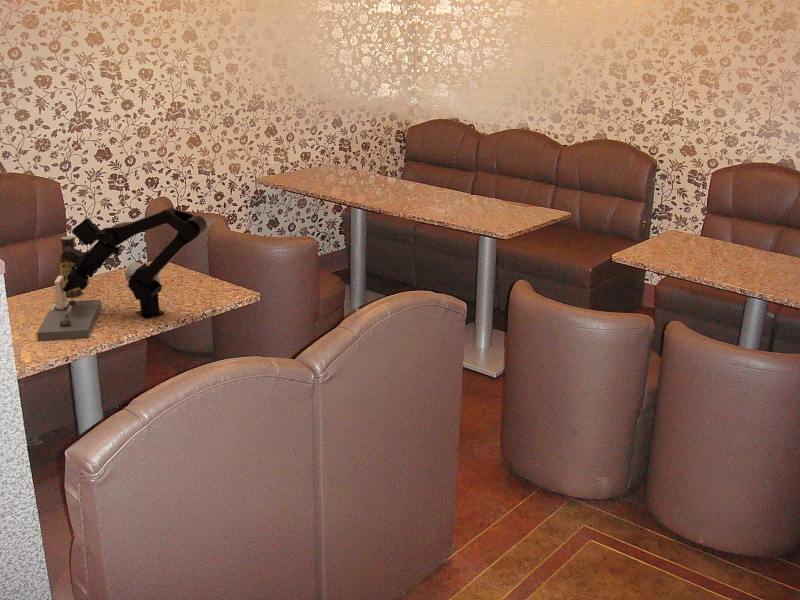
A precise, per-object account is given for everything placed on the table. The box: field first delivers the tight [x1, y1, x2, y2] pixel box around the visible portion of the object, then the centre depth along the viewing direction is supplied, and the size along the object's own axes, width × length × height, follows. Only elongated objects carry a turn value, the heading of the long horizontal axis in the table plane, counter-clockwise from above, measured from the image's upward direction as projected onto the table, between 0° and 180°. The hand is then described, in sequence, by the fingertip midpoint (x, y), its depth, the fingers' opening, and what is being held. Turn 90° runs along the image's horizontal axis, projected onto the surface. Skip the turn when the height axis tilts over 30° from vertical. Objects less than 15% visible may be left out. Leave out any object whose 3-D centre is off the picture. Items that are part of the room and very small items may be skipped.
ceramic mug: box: [124, 261, 160, 283], centre depth 277 cm, size 11×8×8 cm
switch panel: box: [36, 299, 102, 341], centre depth 243 cm, size 14×26×4 cm, turn 12°
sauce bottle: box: [59, 235, 83, 297], centre depth 264 cm, size 6×6×20 cm
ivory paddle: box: [54, 275, 69, 309], centre depth 248 cm, size 3×6×9 cm, turn 12°
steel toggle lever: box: [65, 299, 76, 318], centre depth 234 cm, size 2×2×6 cm
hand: (64, 290), depth 248 cm, fingers closed, pressing on ivory paddle
